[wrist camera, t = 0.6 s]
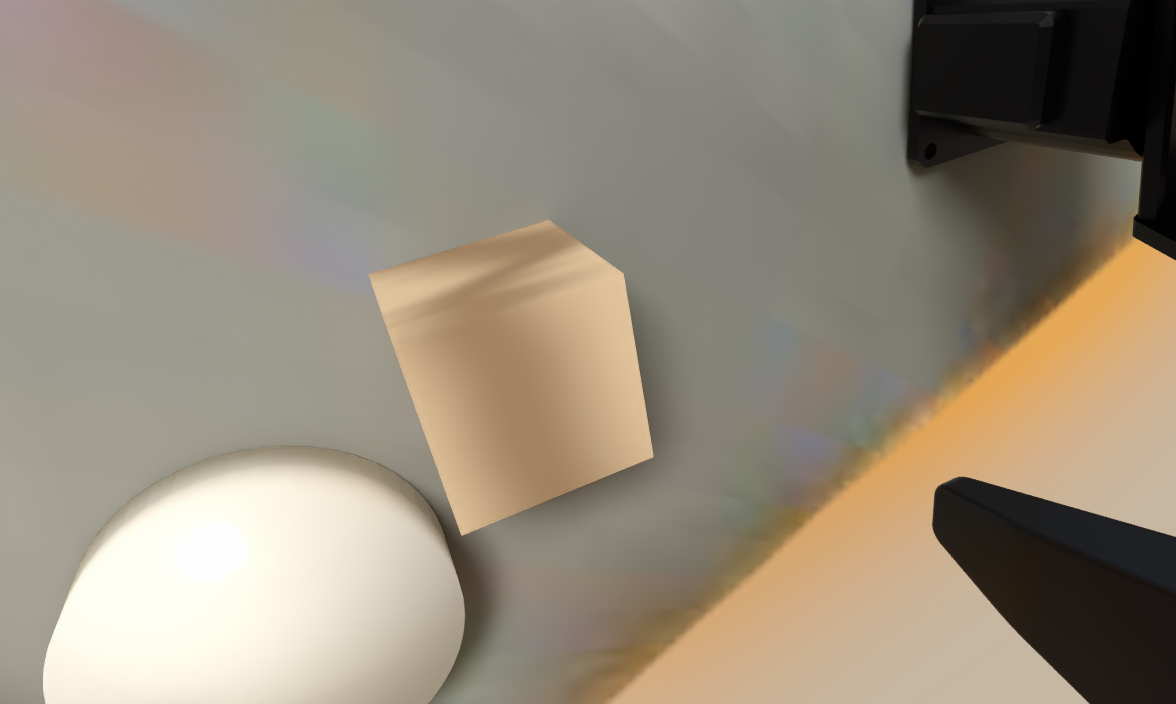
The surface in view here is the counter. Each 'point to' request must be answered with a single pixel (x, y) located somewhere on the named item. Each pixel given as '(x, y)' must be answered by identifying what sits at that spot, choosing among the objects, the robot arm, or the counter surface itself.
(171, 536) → the ceramic stand
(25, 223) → the counter surface
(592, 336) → the beech cube
